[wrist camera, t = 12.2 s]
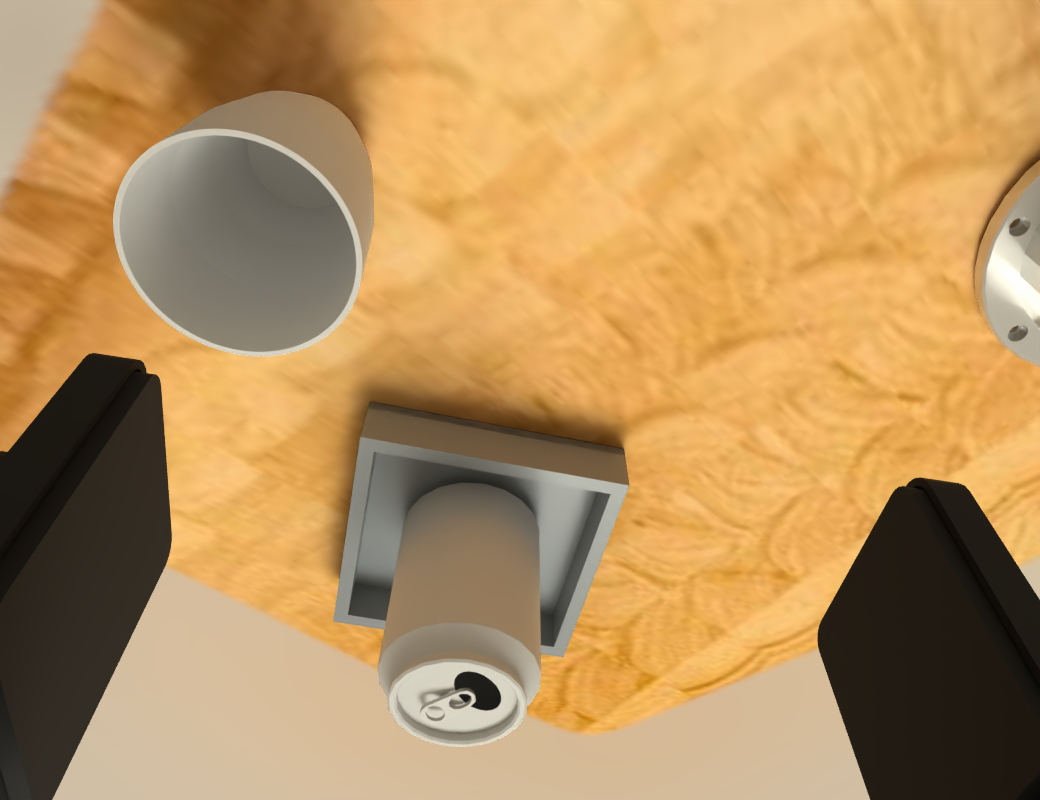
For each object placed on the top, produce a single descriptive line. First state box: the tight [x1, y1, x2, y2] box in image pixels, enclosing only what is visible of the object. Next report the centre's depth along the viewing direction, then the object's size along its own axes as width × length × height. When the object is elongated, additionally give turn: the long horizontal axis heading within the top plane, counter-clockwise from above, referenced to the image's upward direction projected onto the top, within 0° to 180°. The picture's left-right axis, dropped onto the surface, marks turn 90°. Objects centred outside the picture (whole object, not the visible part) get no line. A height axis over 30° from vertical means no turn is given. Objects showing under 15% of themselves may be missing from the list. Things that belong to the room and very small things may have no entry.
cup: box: [113, 91, 374, 357], centre depth 32 cm, size 8×8×10 cm
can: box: [378, 483, 541, 747], centre depth 43 cm, size 8×8×12 cm
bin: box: [333, 402, 629, 657], centre depth 47 cm, size 14×14×3 cm
